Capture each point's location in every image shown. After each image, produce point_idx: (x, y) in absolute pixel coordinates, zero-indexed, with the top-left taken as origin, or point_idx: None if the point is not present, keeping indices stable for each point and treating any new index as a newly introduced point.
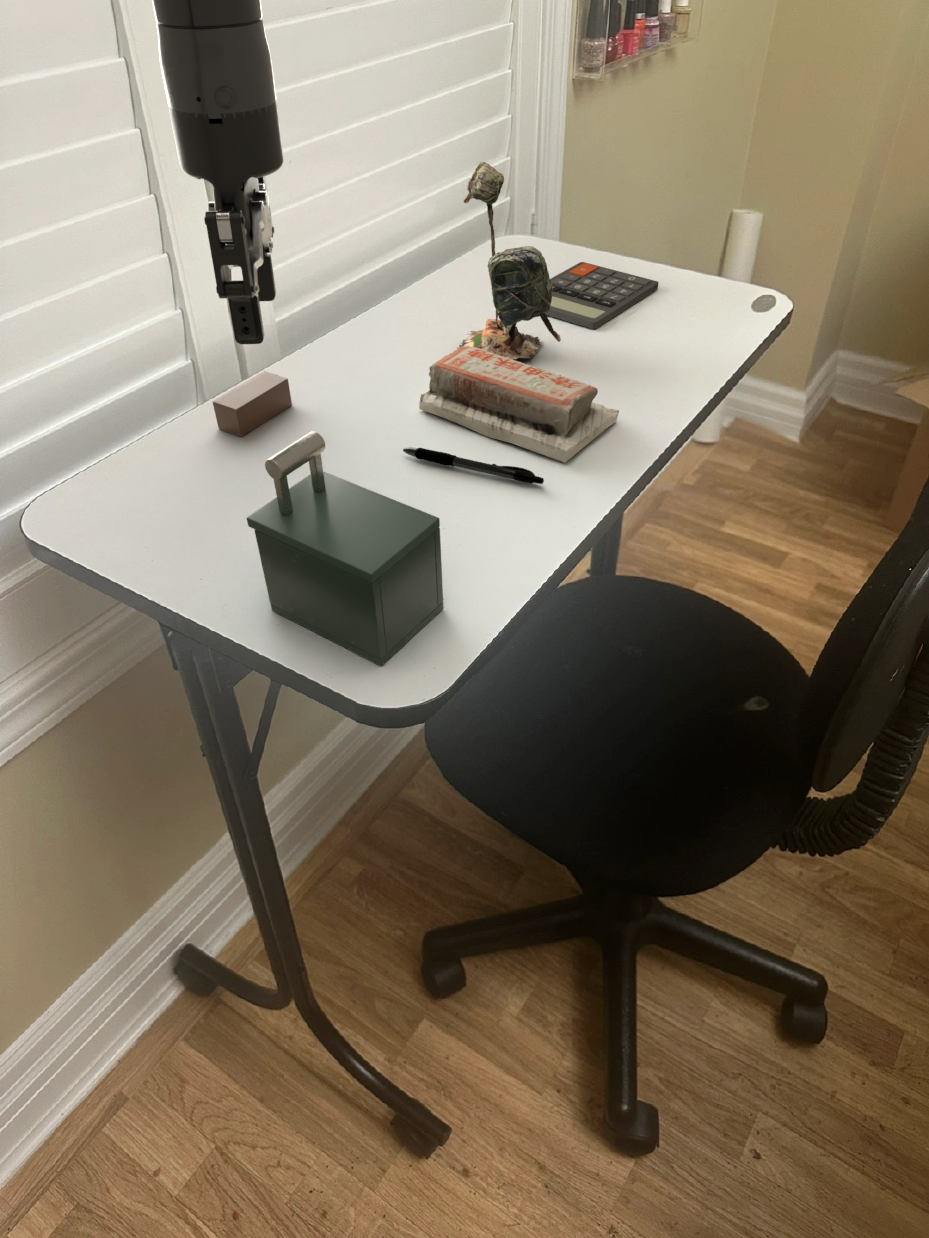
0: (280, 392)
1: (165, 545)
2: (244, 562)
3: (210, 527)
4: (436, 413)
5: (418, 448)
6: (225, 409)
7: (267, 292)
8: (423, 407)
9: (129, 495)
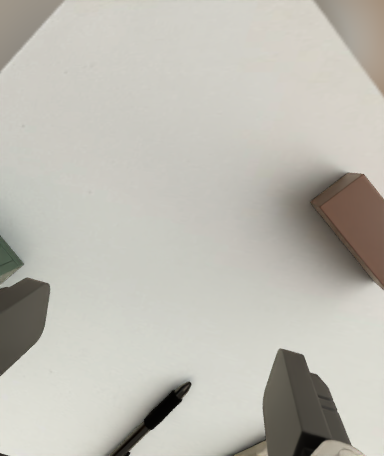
0: (374, 277)
1: (90, 87)
2: (41, 173)
3: (112, 142)
4: (264, 442)
5: (175, 400)
6: (337, 191)
7: (269, 399)
8: None
9: (211, 40)
